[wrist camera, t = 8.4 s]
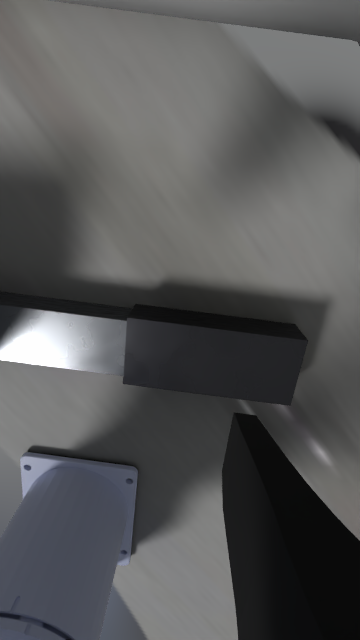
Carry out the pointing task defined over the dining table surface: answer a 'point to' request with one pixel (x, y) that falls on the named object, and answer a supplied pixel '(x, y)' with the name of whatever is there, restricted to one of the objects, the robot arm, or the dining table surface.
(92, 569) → the robot arm
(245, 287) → the dining table surface
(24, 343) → the bar
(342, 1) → the tube
